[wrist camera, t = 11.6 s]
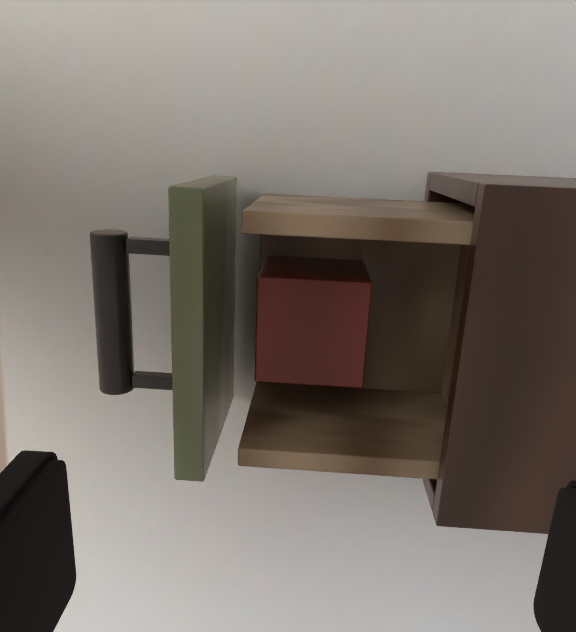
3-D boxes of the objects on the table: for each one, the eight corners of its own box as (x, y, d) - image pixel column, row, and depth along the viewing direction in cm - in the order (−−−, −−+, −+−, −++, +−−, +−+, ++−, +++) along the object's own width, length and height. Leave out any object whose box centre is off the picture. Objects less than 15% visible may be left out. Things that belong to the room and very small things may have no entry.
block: (264, 345, 27) (254, 382, 23) (267, 255, 26) (257, 276, 21) (356, 350, 27) (363, 389, 23) (363, 260, 26) (372, 282, 21)
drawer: (134, 391, 29) (71, 473, 22) (125, 171, 26) (46, 180, 19) (448, 410, 29) (492, 502, 21) (479, 188, 25) (545, 204, 18)
